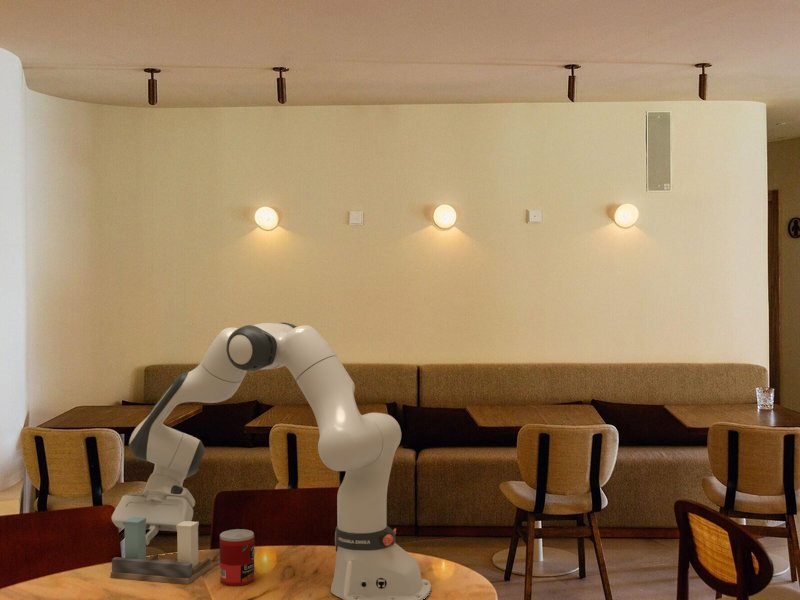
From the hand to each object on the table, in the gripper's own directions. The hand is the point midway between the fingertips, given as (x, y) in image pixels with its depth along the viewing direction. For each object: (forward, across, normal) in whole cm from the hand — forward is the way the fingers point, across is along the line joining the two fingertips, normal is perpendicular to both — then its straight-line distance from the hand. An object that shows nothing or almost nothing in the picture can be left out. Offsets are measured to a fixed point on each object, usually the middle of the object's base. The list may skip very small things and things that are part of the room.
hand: (141, 543), depth 207 cm
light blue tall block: (+5, 0, +1) cm, 5 cm away
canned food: (+7, +27, +2) cm, 28 cm away
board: (+6, +7, +2) cm, 9 cm away
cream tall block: (+5, +14, +1) cm, 15 cm away
